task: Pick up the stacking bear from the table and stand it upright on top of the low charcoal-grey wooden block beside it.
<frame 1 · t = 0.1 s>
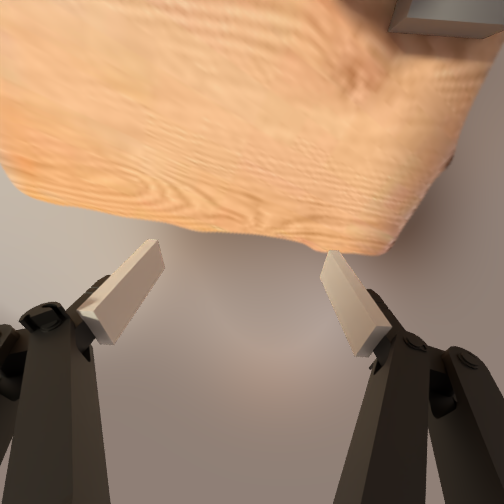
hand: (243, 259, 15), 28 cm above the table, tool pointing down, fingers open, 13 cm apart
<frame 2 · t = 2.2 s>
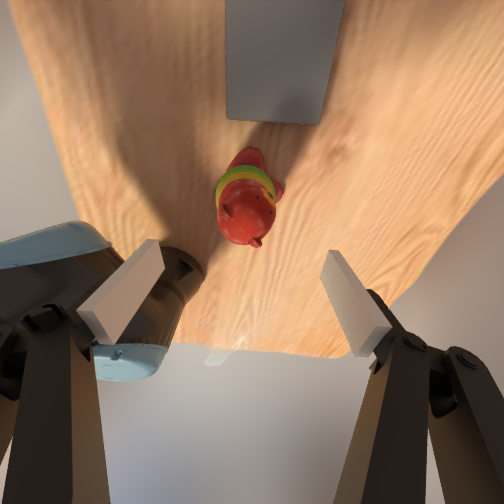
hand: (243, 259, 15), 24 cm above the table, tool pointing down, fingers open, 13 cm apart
grey block: (276, 60, 25), on the table
stacking bear: (248, 186, 35), on the table
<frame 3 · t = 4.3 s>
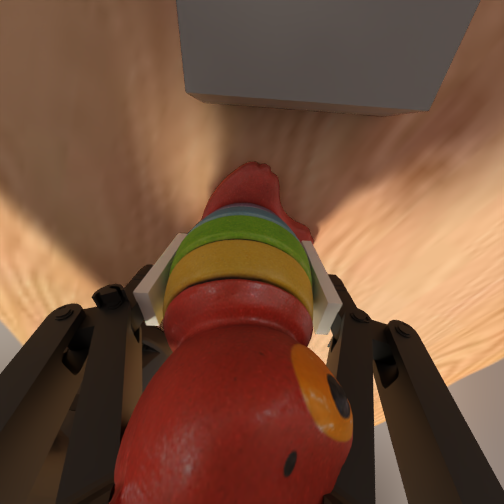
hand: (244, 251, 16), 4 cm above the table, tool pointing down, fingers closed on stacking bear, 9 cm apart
stacking bear: (249, 231, 19), on the table, touching gripper
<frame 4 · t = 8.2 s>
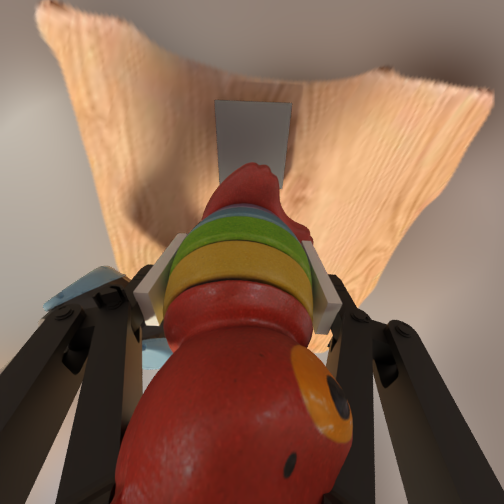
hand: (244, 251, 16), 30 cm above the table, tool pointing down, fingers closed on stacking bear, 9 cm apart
grey block: (252, 148, 38), on the table
stacking bear: (249, 231, 19), point 27 cm above the table, touching gripper
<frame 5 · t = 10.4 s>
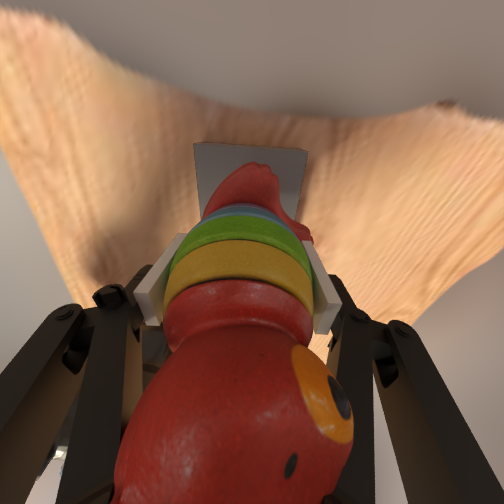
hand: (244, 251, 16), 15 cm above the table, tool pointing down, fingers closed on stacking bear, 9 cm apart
grey block: (249, 198, 28), on the table
stacking bear: (249, 231, 19), point 11 cm above the table, touching gripper
when the fingers open (9 cm above the table, at t = 12.0 s): stacking bear drops 1 cm, resting on grey block.
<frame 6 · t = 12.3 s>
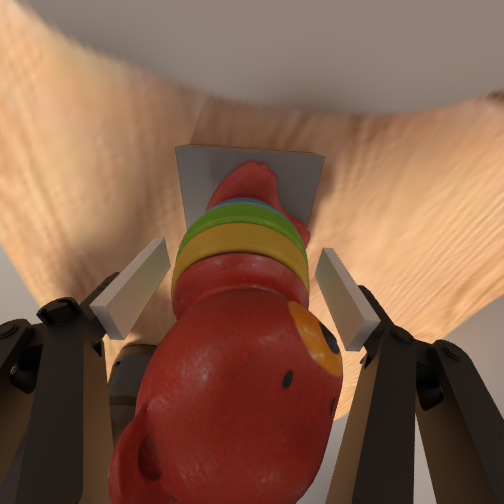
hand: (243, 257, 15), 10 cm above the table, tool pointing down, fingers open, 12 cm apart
grey block: (248, 212, 23), on the table
stacking bear: (249, 226, 20), point 4 cm above the table, touching grey block
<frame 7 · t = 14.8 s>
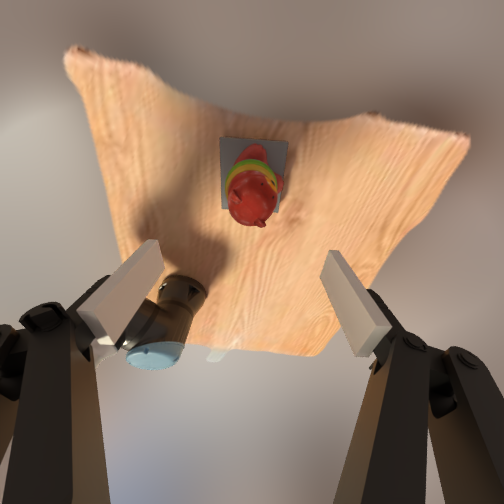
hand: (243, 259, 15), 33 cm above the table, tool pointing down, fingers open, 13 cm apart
grey block: (252, 175, 42), on the table
stacking bear: (253, 179, 39), point 4 cm above the table, touching grey block
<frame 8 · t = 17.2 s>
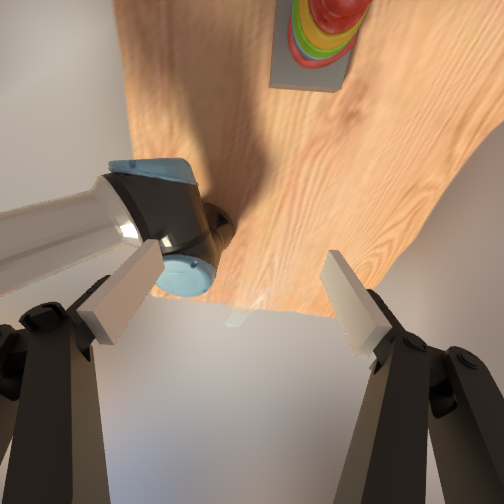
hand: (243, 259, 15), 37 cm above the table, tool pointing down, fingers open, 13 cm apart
grey block: (309, 38, 33), on the table
stacking bear: (316, 29, 30), point 4 cm above the table, touching grey block
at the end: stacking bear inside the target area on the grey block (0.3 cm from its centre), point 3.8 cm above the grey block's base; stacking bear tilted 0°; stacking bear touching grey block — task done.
